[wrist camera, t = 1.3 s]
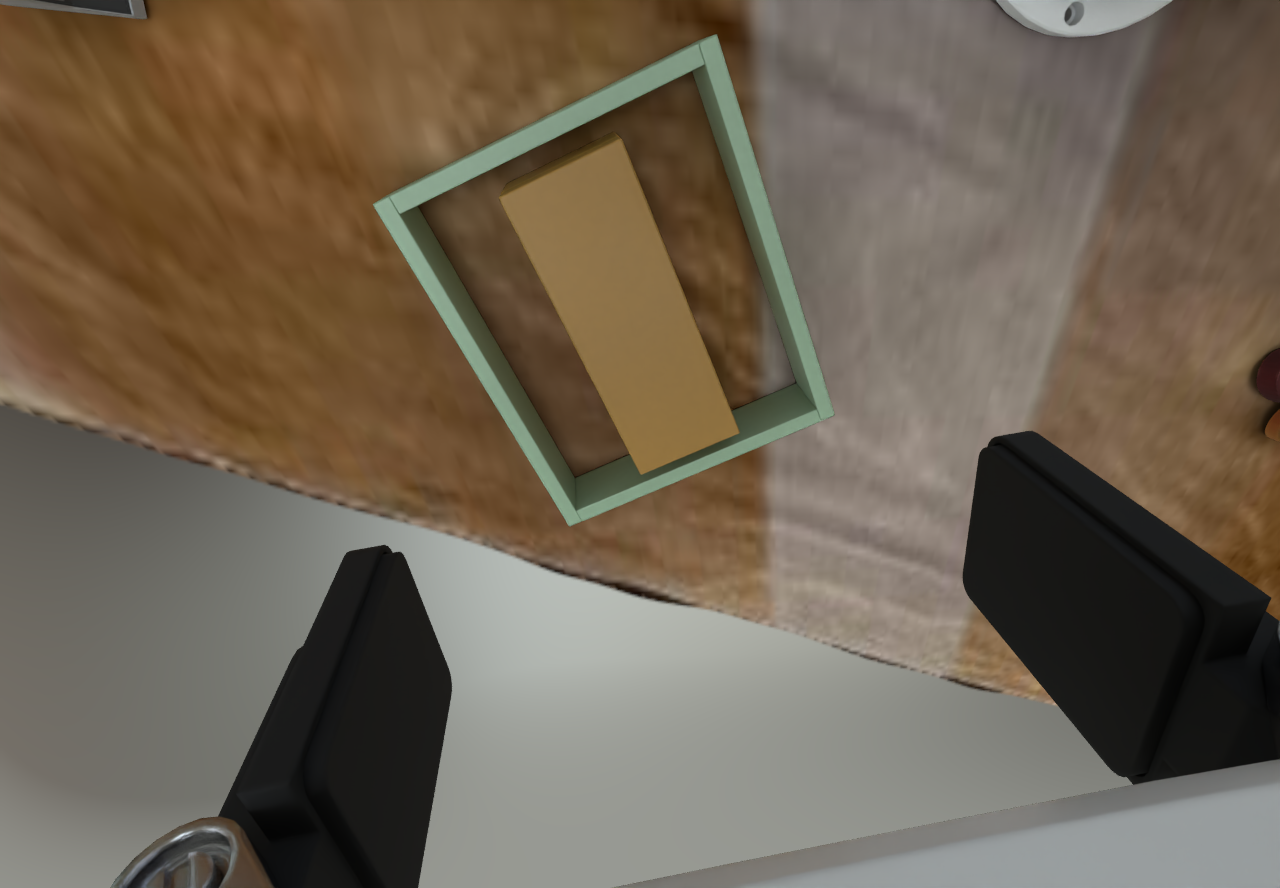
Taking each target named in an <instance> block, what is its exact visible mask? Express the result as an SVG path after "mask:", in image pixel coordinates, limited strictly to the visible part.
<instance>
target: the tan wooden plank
mask: <svg viewBox="0 0 1280 888" xmlns="http://www.w3.org/2000/svg"><path fill="white" fill-rule="evenodd" d="M499 200H500V202H501V204H502V206H503V208H504V210H505V212H506V214H507V216H508V218H509V220H510V222H511V224H512V226H513V228H514V230H515V231H516V233H517V235H518V237H519V239H520V241H521V243H522V245H523V247H524V249H525V251H526V253H527V255H528V257H529V259H530V261H531V263H532V265H533V267H534V268H535V270H536V272H537V274H538V276H539V278H540V280H541V282H542V284H543V286H544V288H545V290H546V292H547V294H548V296H549V298H550V300H551V302H552V304H553V306H554V307H555V309H556V311H557V313H558V315H559V317H560V319H561V321H562V323H563V325H564V327H565V329H566V331H567V333H568V335H569V337H570V339H571V341H572V343H573V344H574V346H575V348H576V350H577V352H578V354H579V356H580V358H581V360H582V362H583V364H584V366H585V368H586V370H587V372H588V374H589V376H590V378H591V380H592V381H593V383H594V385H595V387H596V389H597V391H598V393H599V395H600V397H601V399H602V401H603V403H604V405H605V407H606V409H607V411H608V413H609V415H610V417H611V418H612V420H613V422H614V424H615V426H616V428H617V430H618V432H619V434H620V436H621V438H622V440H623V442H624V444H625V446H626V448H627V450H628V452H629V454H630V455H631V457H632V459H633V461H634V463H635V465H636V467H637V469H638V471H639V473H640V474H641V475H642V474H644V473H647V472H649V471H652V470H654V469H656V468H659V467H661V466H663V465H666V464H668V463H670V462H673V461H675V460H678V459H680V458H682V457H685V456H687V455H689V454H692V453H694V452H696V451H699V450H701V449H704V448H706V447H708V446H711V445H713V444H715V443H718V442H720V441H722V440H725V439H727V438H729V437H732V436H734V435H737V434H739V433H740V431H739V429H738V426H737V424H736V421H735V419H734V416H733V414H732V411H731V409H730V406H729V404H728V401H727V399H726V396H725V394H724V391H723V389H722V386H721V384H720V381H719V379H718V376H717V374H716V371H715V369H714V366H713V364H712V361H711V359H710V356H709V354H708V351H707V349H706V346H705V344H704V341H703V339H702V336H701V334H700V332H699V329H698V327H697V324H696V322H695V319H694V317H693V314H692V312H691V309H690V307H689V304H688V302H687V299H686V297H685V294H684V292H683V289H682V287H681V284H680V282H679V279H678V277H677V274H676V272H675V269H674V267H673V264H672V262H671V259H670V257H669V254H668V252H667V249H666V247H665V244H664V242H663V239H662V237H661V235H660V232H659V230H658V227H657V225H656V222H655V220H654V217H653V215H652V212H651V210H650V207H649V205H648V202H647V200H646V197H645V195H644V192H643V190H642V187H641V185H640V182H639V180H638V177H637V175H636V172H635V170H634V167H633V165H632V162H631V160H630V157H629V155H628V152H627V150H626V147H625V145H624V142H623V140H622V139H621V138H620V137H619V136H618V135H617V134H616V133H615V132H612V133H610V134H608V135H606V136H604V137H602V138H600V139H597V140H595V141H593V142H591V143H589V144H587V145H585V146H583V147H581V148H579V149H577V150H575V151H573V152H571V153H569V154H567V155H565V156H563V157H561V158H558V159H556V160H554V161H552V162H550V163H548V164H546V165H544V166H542V167H540V168H538V169H536V170H534V171H532V172H530V173H528V174H526V175H524V176H521V177H519V178H517V179H515V180H513V181H511V182H509V183H507V184H506V186H505V187H504V189H503V191H502V192H501V195H500V197H499Z"/></svg>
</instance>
